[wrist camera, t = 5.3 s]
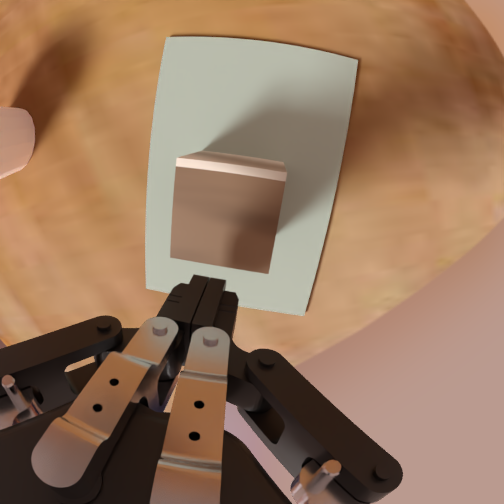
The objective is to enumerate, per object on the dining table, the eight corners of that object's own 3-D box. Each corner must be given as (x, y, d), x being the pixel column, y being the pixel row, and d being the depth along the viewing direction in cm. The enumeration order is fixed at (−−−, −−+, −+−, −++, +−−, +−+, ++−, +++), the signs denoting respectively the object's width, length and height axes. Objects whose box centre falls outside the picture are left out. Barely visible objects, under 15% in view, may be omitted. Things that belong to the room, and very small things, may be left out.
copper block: (194, 226, 19) (202, 150, 17) (270, 238, 19) (283, 161, 17) (170, 257, 15) (176, 157, 13) (268, 274, 15) (287, 172, 13)
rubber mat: (167, 38, 15) (166, 37, 14) (356, 61, 14) (358, 60, 14) (147, 286, 22) (146, 288, 21) (303, 313, 22) (304, 315, 21)
